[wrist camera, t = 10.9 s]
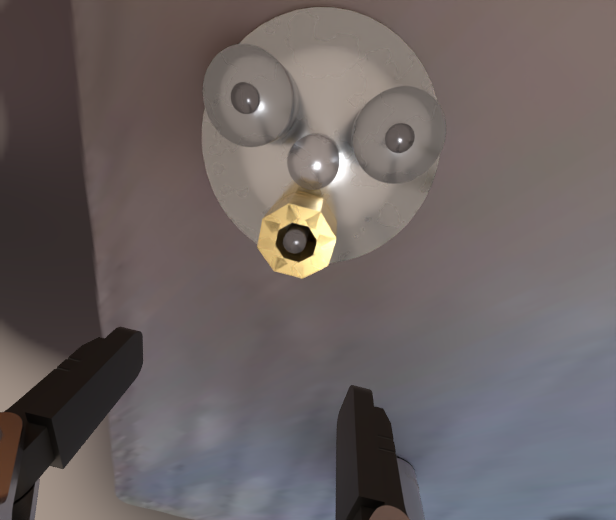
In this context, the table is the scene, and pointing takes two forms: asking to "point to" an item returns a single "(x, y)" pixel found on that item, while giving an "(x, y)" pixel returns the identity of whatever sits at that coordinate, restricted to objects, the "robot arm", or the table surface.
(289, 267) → the planet gear
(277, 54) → the carrier
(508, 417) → the table surface
